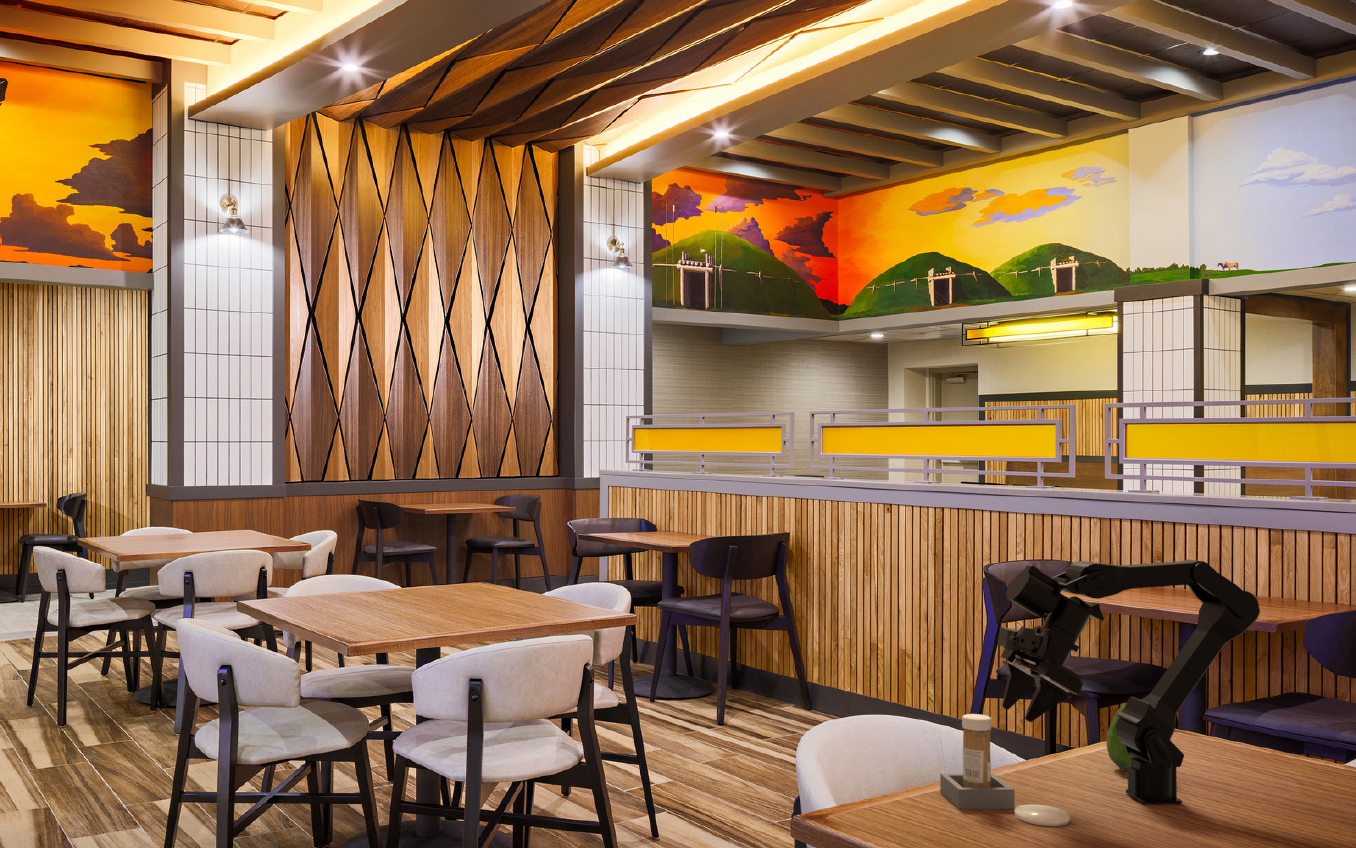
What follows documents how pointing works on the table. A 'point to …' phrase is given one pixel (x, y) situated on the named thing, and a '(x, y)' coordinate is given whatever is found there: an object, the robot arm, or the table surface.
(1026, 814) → the white round coaster
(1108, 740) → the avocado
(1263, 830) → the table surface
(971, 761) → the sprinkles bottle
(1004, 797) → the sleeve
